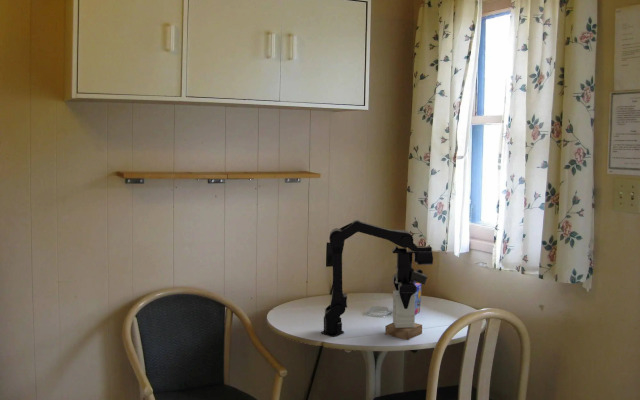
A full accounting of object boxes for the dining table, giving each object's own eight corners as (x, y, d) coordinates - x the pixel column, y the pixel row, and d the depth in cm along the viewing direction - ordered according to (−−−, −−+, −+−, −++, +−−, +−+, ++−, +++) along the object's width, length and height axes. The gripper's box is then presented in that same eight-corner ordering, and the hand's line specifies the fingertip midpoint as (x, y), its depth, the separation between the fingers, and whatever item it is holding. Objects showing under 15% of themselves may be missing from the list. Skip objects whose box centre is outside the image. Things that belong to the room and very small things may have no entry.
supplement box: (411, 322, 239) (412, 289, 238) (414, 328, 231) (415, 294, 230) (392, 322, 239) (392, 290, 237) (395, 328, 231) (395, 294, 230)
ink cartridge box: (413, 317, 257) (414, 282, 256) (401, 315, 260) (401, 281, 258) (421, 311, 266) (422, 277, 265) (409, 309, 269) (409, 276, 267)
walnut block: (385, 336, 235) (385, 325, 234) (399, 329, 242) (399, 319, 242) (408, 341, 228) (408, 331, 228) (422, 334, 236) (422, 324, 236)
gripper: (431, 269, 224) (430, 312, 225) (421, 259, 242) (420, 298, 244) (400, 269, 223) (399, 312, 225) (392, 259, 242) (392, 299, 243)
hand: (403, 305), depth 234 cm, fingers open, 9 cm apart
